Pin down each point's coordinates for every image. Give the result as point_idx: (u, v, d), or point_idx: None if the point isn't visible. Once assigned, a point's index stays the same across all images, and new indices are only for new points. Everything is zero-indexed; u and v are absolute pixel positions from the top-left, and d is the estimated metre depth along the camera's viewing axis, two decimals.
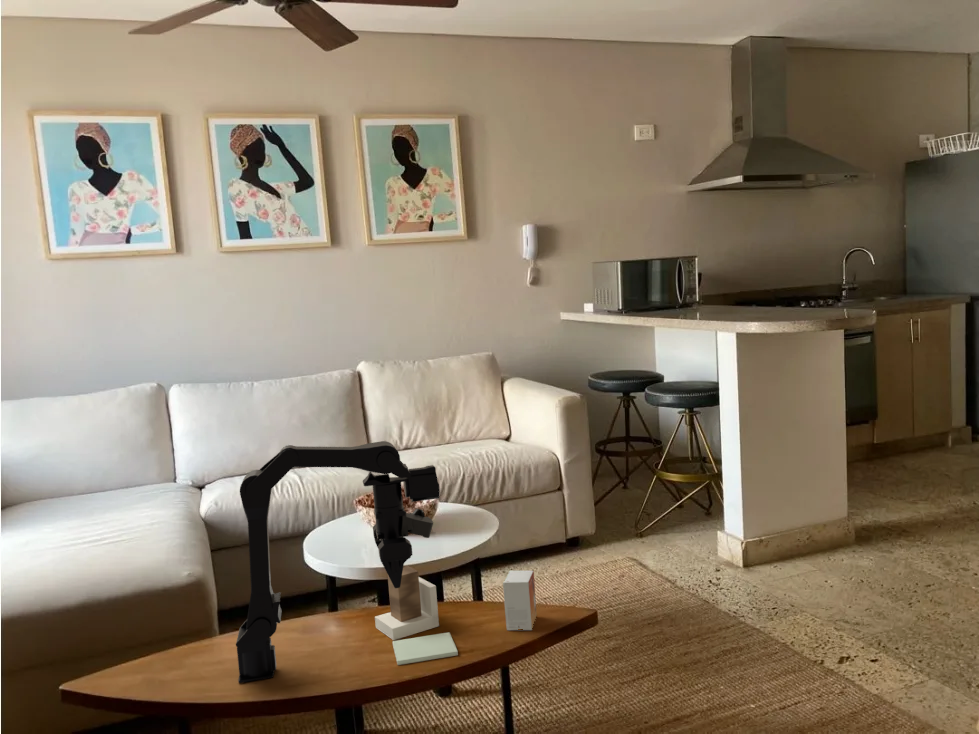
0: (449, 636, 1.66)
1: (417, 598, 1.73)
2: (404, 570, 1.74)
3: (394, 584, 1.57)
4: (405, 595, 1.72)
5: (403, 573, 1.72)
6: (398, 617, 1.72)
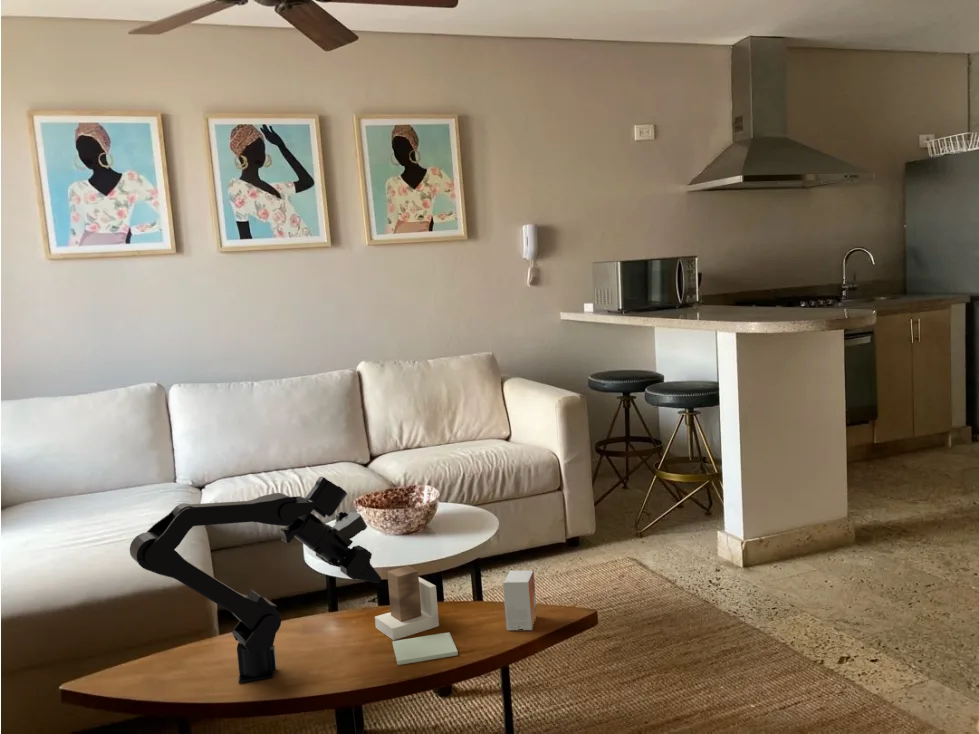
0: (449, 636, 1.66)
1: (417, 598, 1.73)
2: (404, 570, 1.74)
3: (376, 581, 1.65)
4: (405, 595, 1.72)
5: (403, 573, 1.72)
6: (398, 617, 1.72)
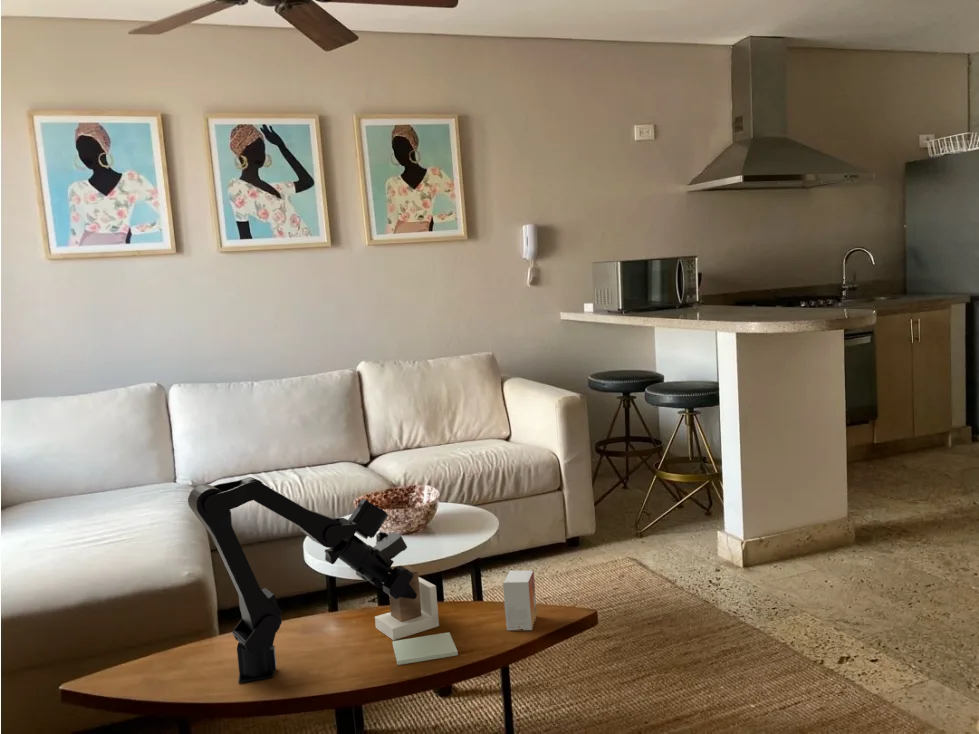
0: (449, 636, 1.66)
1: (417, 598, 1.73)
2: None
3: (412, 597, 1.72)
4: None
5: None
6: (398, 617, 1.72)
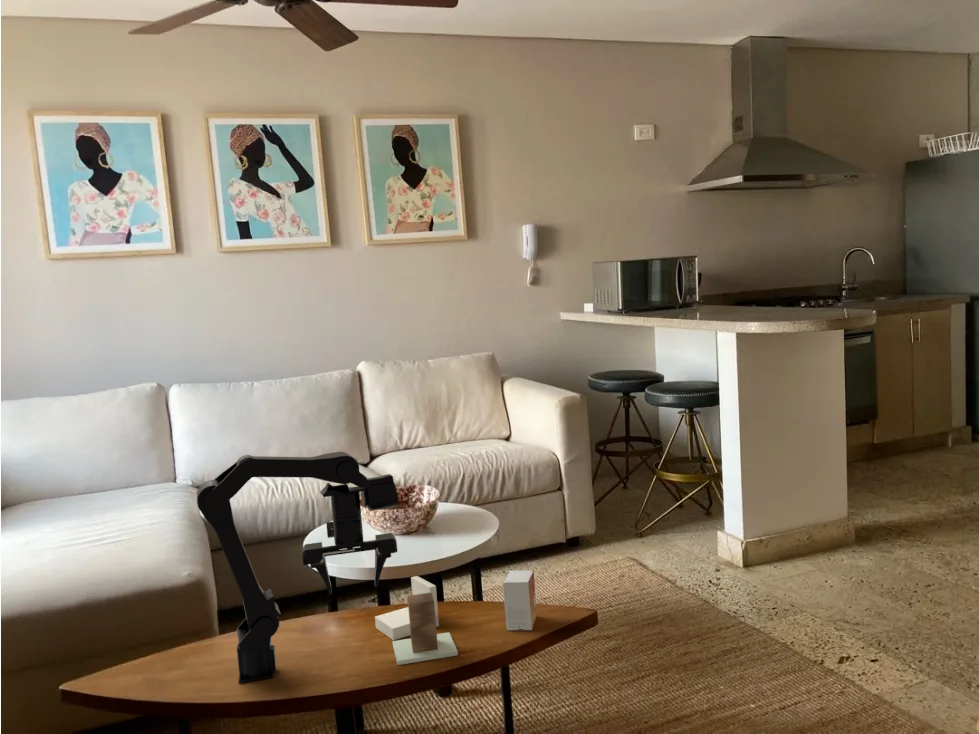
0: (449, 636, 1.66)
1: (433, 630, 1.60)
2: (423, 597, 1.62)
3: None
4: (418, 625, 1.59)
5: (418, 601, 1.60)
6: (412, 647, 1.60)
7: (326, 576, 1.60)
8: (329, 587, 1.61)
